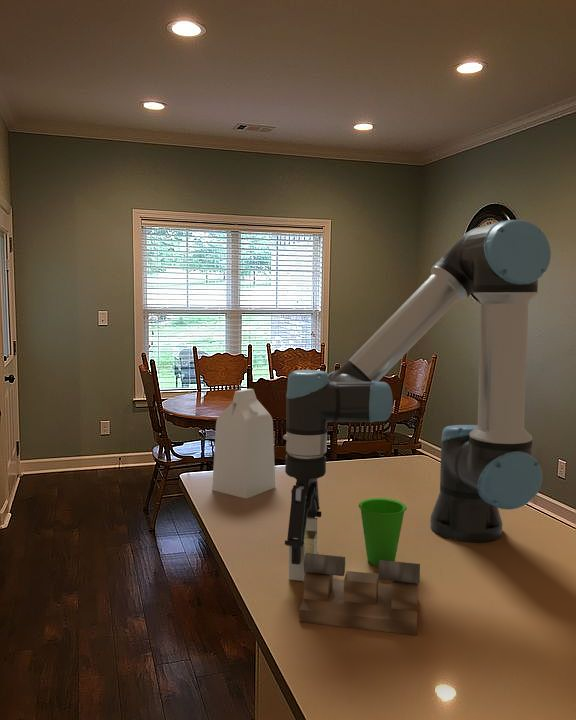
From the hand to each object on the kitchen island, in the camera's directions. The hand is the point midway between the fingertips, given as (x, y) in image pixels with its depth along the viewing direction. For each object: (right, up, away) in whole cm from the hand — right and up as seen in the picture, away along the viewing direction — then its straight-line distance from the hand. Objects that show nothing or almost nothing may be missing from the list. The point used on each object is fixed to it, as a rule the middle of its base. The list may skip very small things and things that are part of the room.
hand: (303, 564), depth 121 cm
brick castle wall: (+9, -2, -17) cm, 19 cm away
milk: (-14, +5, +47) cm, 49 cm away
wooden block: (0, 0, 0) cm, 0 cm away
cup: (+15, 0, +2) cm, 15 cm away
